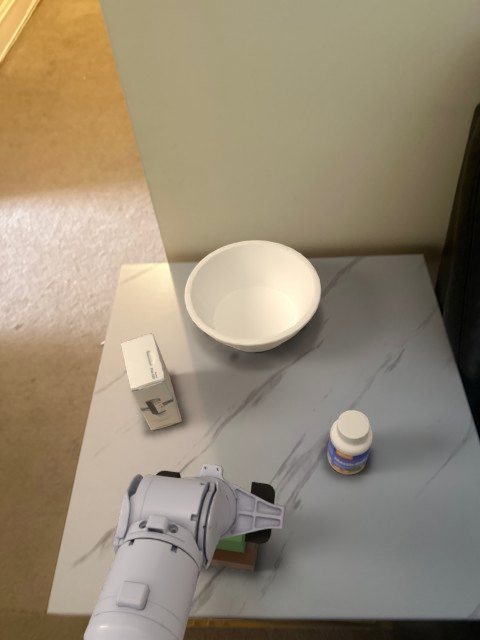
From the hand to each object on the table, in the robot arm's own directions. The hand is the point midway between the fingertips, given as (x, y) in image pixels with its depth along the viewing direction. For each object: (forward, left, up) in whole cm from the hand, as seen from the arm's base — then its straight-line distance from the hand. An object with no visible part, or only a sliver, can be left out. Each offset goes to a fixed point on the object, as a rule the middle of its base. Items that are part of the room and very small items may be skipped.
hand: (222, 502), depth 62 cm
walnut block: (0, 0, -12) cm, 12 cm away
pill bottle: (+13, -14, -13) cm, 23 cm away
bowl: (+35, +2, -13) cm, 37 cm away
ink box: (+18, +14, -13) cm, 26 cm away
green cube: (0, 0, -9) cm, 9 cm away
